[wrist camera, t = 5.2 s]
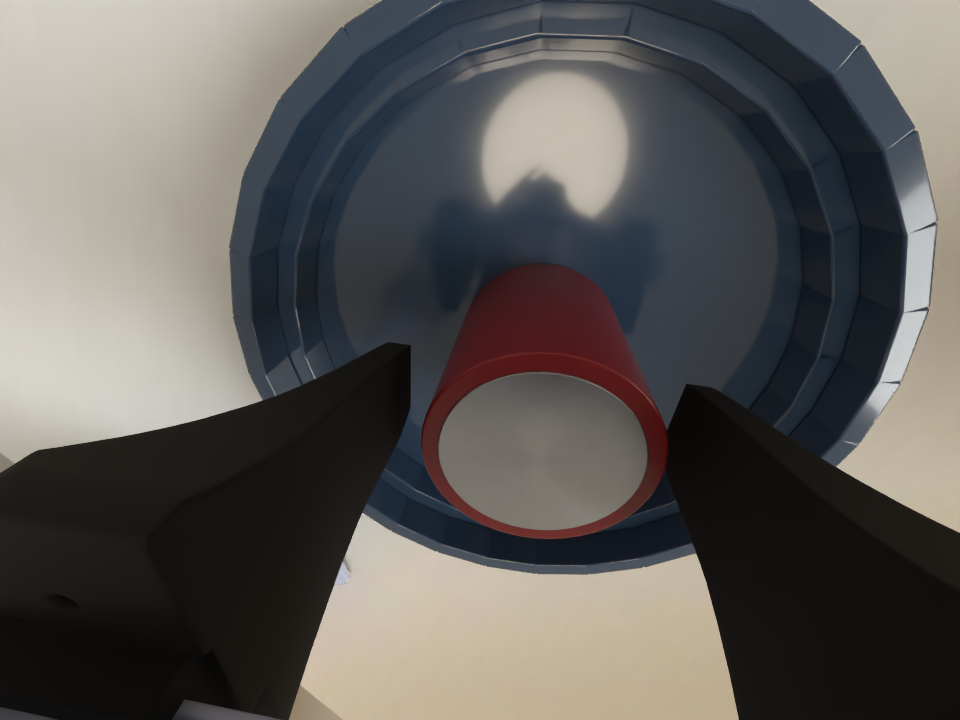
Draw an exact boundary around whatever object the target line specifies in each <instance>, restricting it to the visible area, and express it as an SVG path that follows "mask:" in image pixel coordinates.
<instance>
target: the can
mask: <svg viewBox="0 0 960 720" xmlns="http://www.w3.org/2000/svg"><path fill="white" fill-rule="evenodd" d="M421 448H422V455H423V459H424V463H425V466H426V469H427V471H428V474H429V476H430V477H431V479H432V481H433V483H434V484H435V486H436V487H437V488H438V490H439V491H440V492H441V494H442V495H443V496H444V497H445V498H446V499H447V500H448V501H449V502H450V503H451V504H452V505H453V506H455V507H456V508H457V509H458V510H460V511H461V512H462V513H464V514H465V515H467V516H468V517H470V518H472V519H473V520H475V521H477V522H479V523H481V524H483V525H485V526H488V527H490V528H493V529H495V530H498V531H502V532H505V533H508V534H513V535H517V536H522V537H530V538H542V539H557V538H569V537H576V536H581V535H586V534H590V533H593V532H596V531H599V530H602V529H605V528H607V527H610V526H612V525H614V524H616V523H618V522H620V521H622V520H623V519H625V518H627V517H628V516H630V515H631V514H632V513H634V512H635V511H636V510H638V509H639V508H640V507H641V506H642V505H643V504H644V503H645V502H646V501H647V500H648V499H649V498H650V496H651V495H652V494H653V493H654V491H655V490H656V488H657V487H658V485H659V483H660V481H661V479H662V477H663V474H664V471H665V468H666V465H667V458H668V436H667V432H666V427H665V424H664V422H663V419H662V417H661V414H660V412H659V410H658V408H657V405H656V403H655V401H654V399H653V397H652V394H651V392H650V390H649V388H648V386H647V383H646V381H645V379H644V377H643V374H642V372H641V370H640V368H639V366H638V363H637V361H636V359H635V357H634V355H633V352H632V350H631V348H630V346H629V344H628V341H627V339H626V337H625V335H624V333H623V330H622V328H621V326H620V324H619V322H618V319H617V317H616V315H615V313H614V311H613V308H612V306H611V304H610V302H609V300H608V299H607V297H606V295H605V294H604V293H603V292H602V290H601V289H600V288H599V287H598V286H597V285H596V284H595V283H594V282H592V281H591V280H590V279H589V278H587V277H586V276H584V275H583V274H581V273H579V272H576V271H574V270H572V269H569V268H566V267H563V266H558V265H553V264H529V265H524V266H520V267H516V268H514V269H511V270H508V271H506V272H504V273H502V274H500V275H498V276H497V277H495V278H494V279H492V280H491V281H490V282H489V283H487V284H486V285H485V286H484V287H483V288H482V289H481V290H480V292H479V293H478V294H477V295H476V297H475V298H474V300H473V301H472V303H471V305H470V307H469V310H468V312H467V314H466V317H465V319H464V322H463V324H462V327H461V329H460V332H459V334H458V337H457V339H456V342H455V344H454V346H453V349H452V351H451V354H450V356H449V359H448V361H447V364H446V366H445V369H444V371H443V374H442V376H441V379H440V381H439V384H438V386H437V389H436V391H435V393H434V396H433V398H432V401H431V403H430V406H429V408H428V411H427V413H426V416H425V419H424V423H423V426H422V434H421Z"/></svg>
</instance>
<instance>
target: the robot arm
mask: <svg viewBox="0 0 960 720" xmlns="http://www.w3.org/2000/svg"><path fill="white" fill-rule="evenodd" d="M410 408H411V345H407V344H399V343H392V342H388V343H385V344H383V345H381V346H379V347H377V348H375V349H373V350H371V351H369V352H367V353H365V354H364V355H362V356H360V357H358V358H356V359H354V360H352V361H350V362H348V363H347V364H345V365H343V366H341V367H339V368H337V369H335V370H333V371H331V372H329V373H327V374H324V375H322V376H320V377H318V378H316V379H314V380H312V381H310V382H307V383H305V384H303V385H301V386H299V387H296V388H294V389H292V390H289V391H287V392H284V393H282V394H279V395H276V396H274V397H271V398H268V399H265V400H263V401H260V402H257V403H254V404H251V405H248V406H245V407H241V408H238V409H235V410H231V411H228V412H224V413H221V414H218V415H214V416H211V417H207V418H204V419H200V420H196V421H192V422H188V423H184V424H180V425H176V426H172V427H167V428H163V429H158V430H153V431H149V432H144V433H139V434H134V435H129V436H124V437H118V438H112V439H106V440H100V441H94V442H88V443H82V444H76V445H69V446H63V447H57V448H50V449H43V450H38V451H35V452H33V453H31V454H30V455H28V456H27V457H25V458H23V459H22V460H20V461H19V462H17V463H16V464H14V465H12V466H11V467H9V468H7V469H6V470H4V471H3V472H1V473H0V720H289V717H290V714H291V711H292V707H293V704H294V701H295V698H296V695H297V692H298V689H299V686H300V683H301V680H302V677H303V674H304V671H305V667H306V664H307V661H308V658H309V655H310V652H311V649H312V646H313V643H314V640H315V638H316V635H317V632H318V629H319V626H320V623H321V620H322V617H323V614H324V612H325V609H326V606H327V603H328V600H329V597H330V595H331V592H332V589H333V586H334V584H335V585H343V584H346V583H347V582H348V580H349V577H350V574H349V572H348V570H347V568H346V566H345V564H344V562H343V559H344V557H345V554H346V552H347V549H348V546H349V544H350V541H351V539H352V536H353V533H354V531H355V528H356V526H357V523H358V521H359V519H360V516H361V514H362V512H363V510H364V508H365V506H366V504H367V502H368V500H369V498H370V496H371V494H372V492H373V490H374V488H375V486H376V484H377V482H378V480H379V478H380V476H381V474H382V473H383V471H384V469H385V467H386V465H387V463H388V461H389V459H390V457H391V455H392V453H393V451H394V449H395V447H396V445H397V443H398V441H399V439H400V437H401V434H402V431H403V428H404V426H405V423H406V420H407V417H408V414H409V411H410ZM666 432H667V436H668V458H667V465H666V472H667V476H668V480H669V483H670V486H671V488H672V491H673V494H674V496H675V499H676V502H677V504H678V507H679V510H680V512H681V515H682V517H683V520H684V523H685V525H686V528H687V530H688V533H689V536H690V538H691V541H692V543H693V546H694V549H695V551H696V554H697V556H698V559H699V562H700V564H701V567H702V570H703V573H704V576H705V579H706V582H707V586H708V590H709V593H710V597H711V601H712V605H713V608H714V612H715V616H716V620H717V623H718V627H719V631H720V636H721V640H722V644H723V648H724V652H725V657H726V661H727V665H728V669H729V673H730V678H731V683H732V688H733V693H734V698H735V702H736V707H737V712H738V717H739V720H960V533H958V532H956V531H954V530H952V529H950V528H948V527H946V526H944V525H942V524H940V523H938V522H936V521H934V520H932V519H930V518H928V517H926V516H924V515H922V514H920V513H918V512H916V511H914V510H912V509H910V508H908V507H906V506H904V505H902V504H900V503H899V502H897V501H895V500H893V499H891V498H889V497H888V496H886V495H884V494H882V493H880V492H879V491H877V490H875V489H873V488H871V487H869V486H868V485H866V484H864V483H862V482H860V481H859V480H857V479H855V478H853V477H852V476H850V475H848V474H847V473H845V472H843V471H842V470H840V469H838V468H837V467H835V466H833V465H832V464H830V463H829V462H827V461H825V460H824V459H822V458H821V457H819V456H817V455H816V454H814V453H812V452H811V451H809V450H808V449H806V448H805V447H803V446H802V445H800V444H798V443H797V442H795V441H794V440H792V439H791V438H789V437H788V436H786V435H785V434H783V433H782V432H780V431H779V430H777V429H776V428H774V427H773V426H771V425H770V424H768V423H767V422H766V421H764V420H763V419H761V418H760V417H758V416H757V415H755V414H754V413H752V412H751V411H749V410H748V409H746V408H745V407H743V406H742V405H740V404H739V403H737V402H736V401H734V400H733V399H731V398H730V397H728V396H726V395H725V394H723V393H721V392H720V391H718V390H716V389H714V388H712V387H707V386H700V385H693V384H686V386H685V388H684V390H683V393H682V395H681V398H680V400H679V402H678V405H677V407H676V410H675V412H674V414H673V417H672V419H671V422H670V424H669V426H668V429H667V431H666Z"/></svg>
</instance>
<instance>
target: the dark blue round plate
mask: <svg viewBox="0 0 960 720" xmlns="http://www.w3.org/2000/svg"><path fill="white" fill-rule="evenodd" d="M860 44H861V41H860V40H859V39H858V38H856V37H855V36H854V35H853V34H851V33H850V32H849V31H848V30H846V29H845V28H844V27H842V26H841V25H840V24H839V23H837V22H836V21H835V20H834V19H832V18H831V17H830V16H828V15H827V14H826V13H825V12H823V11H822V10H821V9H820V8H818V7H817V6H816V5H814V4H813V3H812V2H811V1H809V0H381V1H380V2H378V3H377V4H375V5H374V6H372V7H371V8H369V9H368V10H366V11H365V12H363V13H362V14H360V15H359V16H357V17H355V18H354V19H352V20H351V21H349V22H348V23H346V24H345V26H344V28H343V27H341V28H340V29H339V30H338V31H337V32H336V34H335V35H334V36H333V37H332V38H331V39H330V40H329V42H328V43H327V44H326V45H325V46H324V47H323V49H322V50H321V51H320V52H319V53H318V54H317V56H316V57H315V58H314V59H313V60H312V61H311V62H310V64H309V65H308V66H307V67H306V68H305V69H304V71H303V72H302V73H301V74H300V75H299V76H298V77H297V79H296V80H295V81H294V82H293V83H292V84H291V86H290V87H289V88H288V89H287V90H286V91H285V93H284V94H283V95H282V96H281V99H279V100H278V102H277V104H276V106H275V108H274V111H273V113H272V115H271V117H270V119H269V121H268V123H267V125H266V127H265V129H264V132H263V134H262V136H261V138H260V140H259V142H258V144H257V146H256V148H255V150H254V153H253V155H252V157H251V159H250V161H249V163H248V165H247V167H246V169H245V171H244V176H243V177H242V183H241V188H240V193H239V198H238V204H237V209H236V214H235V219H234V225H233V230H232V235H231V240H230V246H229V248H230V270H231V290H232V309H233V315H234V316H233V319H234V322H235V326H236V330H237V333H238V337H239V340H240V344H241V347H242V351H243V354H244V358H245V361H246V365H247V368H248V372H249V374H250V376H251V379H252V381H253V382H254V384H255V386H256V388H257V390H258V392H259V394H260V396H261V398H262V400H265V399H268V398H271V397H274V396H276V395H279V394H282V393H284V392H287V391H289V390H292V389H294V388H296V387H299V386H301V385H303V384H305V383H307V382H310V381H312V380H314V379H316V378H318V377H320V376H322V375H324V374H327V373H329V372H331V371H333V370H335V369H337V368H339V367H341V366H343V365H345V364H347V363H348V362H350V361H352V360H354V359H356V358H358V357H360V356H362V355H364V354H365V353H367V352H369V351H371V350H373V349H375V348H377V347H379V346H381V345H383V344H385V343H388V342H392V343H399V344H407V345H411V408H410V411H409V414H408V417H407V420H406V423H405V426H404V428H403V431H402V434H401V437H400V439H399V441H398V443H397V445H396V447H395V449H394V451H393V453H392V455H391V457H390V459H389V461H388V463H387V465H386V467H385V469H384V471H383V473H382V474H381V476H380V478H379V480H378V482H377V484H376V486H375V488H374V490H373V492H372V494H371V496H370V498H369V500H368V502H367V504H366V506H365V508H364V510H363V512H362V513H364V514H365V515H367V516H369V517H370V518H372V519H373V520H375V521H376V522H378V523H379V524H381V525H382V526H384V527H386V528H387V529H389V530H392V532H394V533H396V534H398V535H401V536H403V537H405V538H407V539H409V540H412V541H414V542H416V543H418V544H420V545H423V546H425V547H427V548H429V549H431V550H434V551H438V552H439V553H442V554H446V555H449V556H452V557H456V558H459V559H463V560H466V561H469V562H473V563H476V564H480V565H483V566H485V565H486V566H487V567H493V568H500V569H507V570H513V571H520V572H527V573H534V574H536V573H537V574H579V575H588V574H589V573H590V574H597V573H605V572H613V571H621V570H629V569H637V568H643V566H644V567H648V566H652V565H655V564H659V563H663V562H666V561H670V560H674V559H677V558H681V557H685V556H688V555H692V554H695V553H696V551H695V549H694V546H693V543H692V541H691V538H690V536H689V533H688V530H687V528H686V525H685V523H684V520H683V517H682V515H681V512H680V510H679V507H678V504H677V502H676V499H675V496H674V494H673V491H672V488H671V486H670V483H669V480H668V476H667V472H666V468H665V471H664V474H663V477H662V479H661V481H660V483H659V485H658V487H657V488H656V490H655V491H654V493H653V494H652V495H651V496H650V498H649V499H648V500H647V501H646V502H645V503H644V504H643V505H642V506H641V507H640V508H639V509H638V510H636V511H635V512H634V513H632V514H631V515H630V516H628V517H627V518H625V519H623V520H622V521H620V522H618V523H616V524H614V525H612V526H610V527H607V528H605V529H602V530H599V531H596V532H593V533H590V534H586V535H581V536H576V537H569V538H557V539H542V538H530V537H522V536H517V535H513V534H508V533H505V532H502V531H498V530H495V529H493V528H490V527H488V526H485V525H483V524H481V523H479V522H477V521H475V520H473V519H472V518H470V517H468V516H467V515H465V514H464V513H462V512H461V511H460V510H458V509H457V508H456V507H455V506H453V505H452V504H451V503H450V502H449V501H448V500H447V499H446V498H445V497H444V496H443V495H442V494H441V492H440V491H439V490H438V488H437V487H436V486H435V484H434V483H433V481H432V479H431V477H430V476H429V474H428V471H427V469H426V466H425V463H424V459H423V455H422V448H421V434H422V426H423V423H424V419H425V416H426V413H427V411H428V408H429V406H430V403H431V401H432V398H433V396H434V393H435V391H436V389H437V386H438V384H439V381H440V379H441V376H442V374H443V371H444V369H445V366H446V364H447V361H448V359H449V356H450V354H451V351H452V349H453V346H454V344H455V342H456V339H457V337H458V334H459V332H460V329H461V327H462V324H463V322H464V319H465V317H466V314H467V312H468V310H469V307H470V305H471V303H472V301H473V300H474V298H475V297H476V295H477V294H478V293H479V292H480V290H481V289H482V288H483V287H484V286H485V285H486V284H487V283H489V282H490V281H491V280H492V279H494V278H495V277H497V276H498V275H500V274H502V273H504V272H506V271H508V270H511V269H514V268H516V267H520V266H524V265H529V264H553V265H558V266H563V267H566V268H569V269H572V270H574V271H576V272H579V273H581V274H583V275H584V276H586V277H587V278H589V279H590V280H591V281H592V282H594V283H595V284H596V285H597V286H598V287H599V288H600V289H601V290H602V292H603V293H604V294H605V295H606V297H607V299H608V300H609V302H610V304H611V306H612V308H613V311H614V313H615V315H616V317H617V319H618V322H619V324H620V326H621V328H622V330H623V333H624V335H625V337H626V339H627V341H628V344H629V346H630V348H631V350H632V352H633V355H634V357H635V359H636V361H637V363H638V366H639V368H640V370H641V372H642V374H643V377H644V379H645V381H646V383H647V386H648V388H649V390H650V392H651V394H652V397H653V399H654V401H655V403H656V405H657V408H658V410H659V412H660V414H661V417H662V419H663V422H664V424H665V427H666V431H667V429H668V426H669V424H670V422H671V419H672V417H673V414H674V412H675V410H676V407H677V405H678V402H679V400H680V398H681V395H682V393H683V390H684V388H685V386H686V384H693V385H700V386H707V387H712V388H714V389H716V390H718V391H720V392H721V393H723V394H725V395H726V396H728V397H730V398H731V399H733V400H734V401H736V402H737V403H739V404H740V405H742V406H743V407H745V408H746V409H748V410H749V411H751V412H752V413H754V414H755V415H757V416H758V417H760V418H761V419H763V420H764V421H766V422H767V423H768V424H770V425H771V426H773V427H774V428H776V429H777V430H779V431H780V432H782V433H783V434H785V435H786V436H788V437H789V438H791V439H792V440H794V441H795V442H797V443H798V444H800V445H802V446H803V447H805V448H806V449H808V450H809V451H811V452H812V453H814V454H816V455H817V456H819V457H821V458H822V459H824V460H825V461H827V462H829V463H830V464H832V465H833V466H835V467H836V466H837V465H838V464H839V463H840V462H841V461H843V460H844V459H845V458H846V457H847V456H848V455H849V454H850V453H851V452H852V451H853V450H854V449H855V448H856V447H857V446H858V445H859V444H858V443H860V442H861V441H862V440H863V438H864V437H865V435H866V434H867V432H868V431H869V429H870V428H871V427H872V425H873V424H874V422H875V421H876V419H877V418H878V416H879V415H880V413H881V412H882V410H883V409H884V408H885V406H886V405H887V403H888V402H889V400H890V399H891V397H892V396H893V394H894V393H895V392H896V390H897V389H898V387H899V386H900V382H901V381H902V380H903V377H904V374H905V372H906V369H907V367H908V364H909V361H910V359H911V356H912V353H913V351H914V348H915V346H916V343H917V340H918V338H919V335H920V332H921V330H922V327H923V324H924V322H925V319H926V317H927V314H928V311H929V309H928V308H927V307H929V306H930V301H931V289H932V278H933V267H934V256H935V245H936V233H937V223H936V221H937V220H938V218H937V214H936V209H935V205H934V200H933V196H932V191H931V187H930V183H929V178H928V174H927V169H926V165H925V160H924V156H923V151H922V147H921V143H920V138H919V134H918V131H916V130H915V126H914V124H913V123H912V121H911V120H910V118H909V116H908V115H907V113H906V112H905V110H904V108H903V107H902V105H901V104H900V102H899V100H898V99H897V97H896V96H895V94H894V92H893V91H892V89H891V88H890V86H889V84H888V83H887V81H886V80H885V78H884V76H883V75H882V73H881V72H880V70H879V68H878V67H877V65H876V64H875V62H874V60H873V59H872V57H871V56H870V54H869V52H868V51H867V49H866V48H865V46H864V45H860Z"/></svg>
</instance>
